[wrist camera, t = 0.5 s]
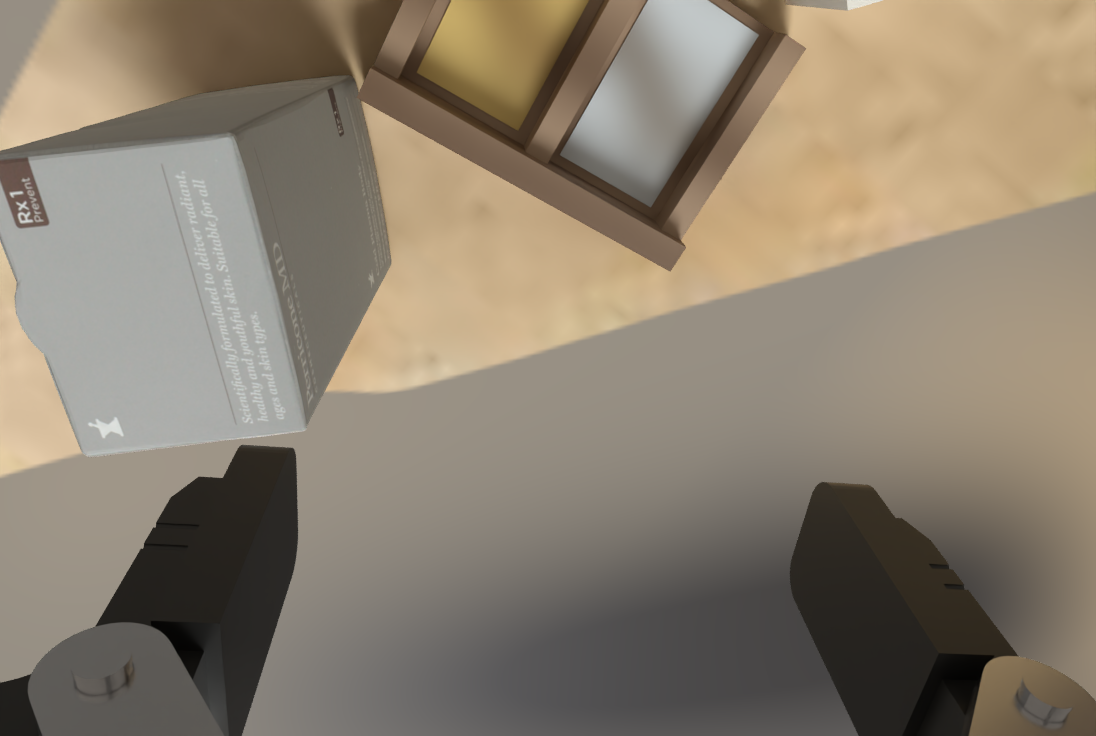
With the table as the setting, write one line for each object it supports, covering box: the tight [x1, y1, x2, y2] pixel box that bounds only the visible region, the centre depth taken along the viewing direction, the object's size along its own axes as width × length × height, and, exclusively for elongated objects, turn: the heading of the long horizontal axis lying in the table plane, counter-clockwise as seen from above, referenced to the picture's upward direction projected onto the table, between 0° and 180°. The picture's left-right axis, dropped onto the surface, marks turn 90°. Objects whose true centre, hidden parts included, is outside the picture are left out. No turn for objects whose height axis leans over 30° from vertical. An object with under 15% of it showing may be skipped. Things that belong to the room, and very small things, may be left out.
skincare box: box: [0, 75, 391, 457], centre depth 27 cm, size 8×7×16 cm
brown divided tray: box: [357, 0, 806, 271], centre depth 32 cm, size 10×14×3 cm
